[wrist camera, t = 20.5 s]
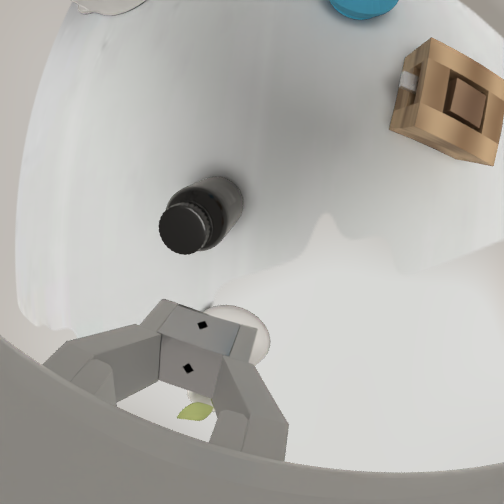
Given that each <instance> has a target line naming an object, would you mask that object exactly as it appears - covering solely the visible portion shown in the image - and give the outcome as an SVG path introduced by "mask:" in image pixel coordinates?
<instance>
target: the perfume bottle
mask: <svg viewBox="0 0 504 504" xmlns="http://www.w3.org/2000/svg"><path fill="white" fill-rule="evenodd" d="M329 1H330V2H331V4H332V6H333V7H334V8H335V9H336V10H337V11H338V12H340V13H341V14H343V15H345V16H347V17H349V18H352V19H358V20H364V19H369V18H372V17H376V16H379V15H382V14H385V13H387V12H389V11H390V10H391V9H392V8H393V7H394V6H395V5H396V4H397V2H398V0H329Z"/></svg>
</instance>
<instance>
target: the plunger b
mask: <svg viewBox="0 0 504 504" xmlns="http://www.w3.org/2000/svg"><path fill="white" fill-rule="evenodd" d="M418 81H419V77H418V76H416V75H414V74H411V73H409V72H407V71H403V72H402V73H401V78H400V83H399V88H401V89H404V90H406V91H409V92H411V93H413V94H416V91H417V86H418Z"/></svg>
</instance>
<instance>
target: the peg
mask: <svg viewBox="0 0 504 504" xmlns="http://www.w3.org/2000/svg"><path fill="white" fill-rule="evenodd" d="M485 100H486V96H485V95H484V94H482V93H481V92H479V91H478V90H476V89H475V88H473V87H472V86H470V85H468V84H467V83H465V82H464V81H462V80H460V79H459V78H455V79H453V80H450V81H448V86H447V92H446V97H445V102H444V107H443V112H442V113H444V114H446V115H448V116H450V117H452V118H454V119H456V120H457V121H459V122H461V123H463V124H465V125H467V126H468V127H470V128H480V124H481V119H482V115H483V110H484V105H485Z"/></svg>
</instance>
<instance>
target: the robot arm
mask: <svg viewBox="0 0 504 504" xmlns="http://www.w3.org/2000/svg"><path fill="white" fill-rule="evenodd" d="M71 1H73V2H75V3H76V4H78V11H79V12H80V13H82V14H88V13H92V12H96V13H99V14H102V15H117V14H121V13H124V12H126V11H129V10H131V9H133V8H135V7H136V6H138V5H140V4H141V3H143V2H144V1H145V0H71ZM257 331H258V329H257V328H255V327H251V326H247V325H243V324H238V323H235V322H231V321H228V320H224V319H221V318H218V317H214V316H211V315H209V314H206V313H203V312H200V311H198V310H195V309H192V308H189V307H186V306H183V305H181V304H178V303H175V302H172V301H169V300H166V299H162V300H161V301H160V302H159V303H158V304H157V305H156V306H155V308H154V309H153V310H152V311H151V312H150V313H149V315H148V316H147V317H146V318H145V319H144V320H143V321H142V323H141V324H140V325H137V324H133V325H129V326H125V327H121V328H117V329H114V330H110V331H106V332H102V333H98V334H94V335H90V336H86V337H82V338H78V339H74V340H70V341H66V342H65V343H64V344H63V345H62V346H61V347H60V348H59V349H58V350H57V351H56V352H55V353H54V354H53V355H52V356H51V357H50V358H49V359H48V360H47V361H46V362H45V363H44V364H43V365H42V364H40V363H38V362H37V361H35V360H34V359H32V358H31V357H30V356H28V355H26V354H25V353H24V352H22V351H21V350H20V349H18V348H17V347H15V346H14V345H13V344H11V343H10V342H9V341H7V340H6V339H5V338H3V337H2V336H1V335H0V504H504V463H498V464H493V465H487V466H482V467H475V468H467V469H459V470H449V471H435V472H411V473H389V472H388V473H387V472H364V471H363V472H362V471H350V470H339V469H330V468H321V467H314V466H308V465H301V464H295V463H290V462H284V460H285V452H286V444H287V435H288V427H289V424H288V422H287V421H286V419H285V417H284V416H283V414H282V412H281V411H280V409H279V408H278V406H277V404H276V402H275V400H274V399H273V397H272V395H271V394H270V392H269V390H268V389H267V387H266V385H265V383H264V382H263V380H262V378H261V376H260V375H259V373H258V371H257V369H256V368H255V366H254V364H251V363H249V360H250V357H251V353H252V350H253V346H254V342H255V338H256V335H257ZM158 380H161V381H163V382H166V383H169V384H172V385H175V386H178V387H181V388H184V389H186V390H189V391H192V392H194V393H197V394H200V395H203V396H205V397H208V398H211V399H212V402H213V405H214V408H215V412H216V415H217V418H218V419H217V422H216V424H215V427H214V430H213V432H212V435H211V438H210V441H209V443H208V442H205V441H202V440H199V439H195V438H193V437H190V436H187V435H184V434H181V433H178V432H176V431H173V430H170V429H168V428H165V427H162V426H160V425H157V424H155V423H152V422H150V421H147V420H145V419H143V418H140V417H138V416H136V415H133V414H131V413H129V412H127V411H125V410H123V409H120V408H118V407H117V405H116V403H117V402H118V401H121V400H123V399H125V398H127V397H128V396H130V395H132V394H134V393H136V392H138V391H140V390H142V389H144V388H146V387H148V386H150V385H152V384H153V383H156V382H157V381H158Z"/></svg>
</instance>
